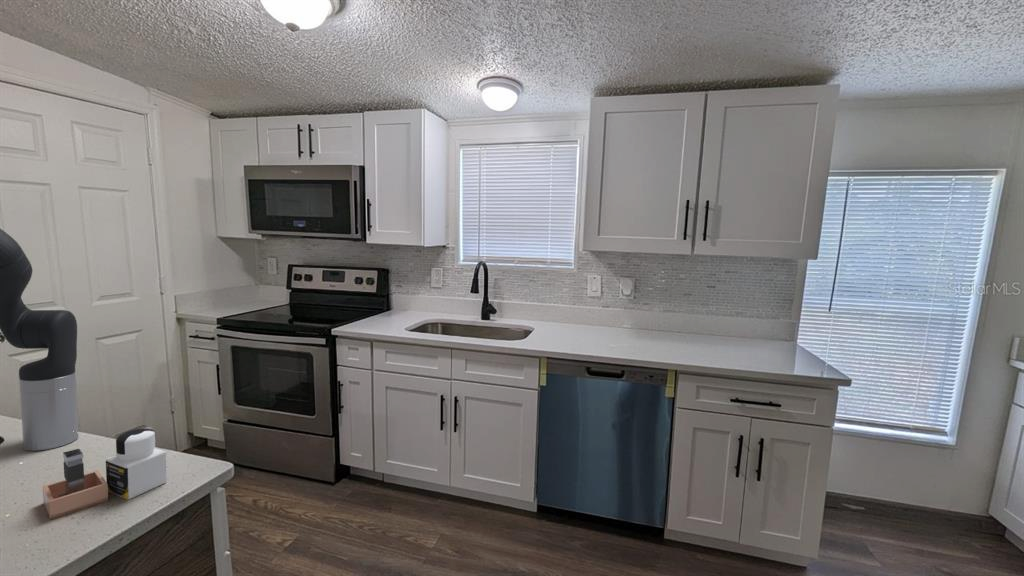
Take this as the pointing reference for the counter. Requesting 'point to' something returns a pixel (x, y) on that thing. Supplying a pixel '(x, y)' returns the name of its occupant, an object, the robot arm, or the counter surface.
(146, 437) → the medicine bottle
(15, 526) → the counter surface
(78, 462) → the metal pedestal tower
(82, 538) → the counter surface
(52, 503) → the tray
